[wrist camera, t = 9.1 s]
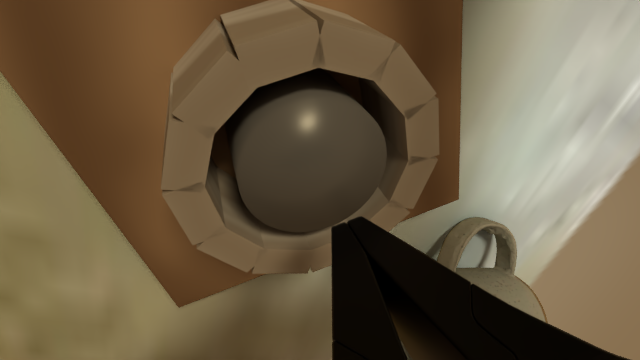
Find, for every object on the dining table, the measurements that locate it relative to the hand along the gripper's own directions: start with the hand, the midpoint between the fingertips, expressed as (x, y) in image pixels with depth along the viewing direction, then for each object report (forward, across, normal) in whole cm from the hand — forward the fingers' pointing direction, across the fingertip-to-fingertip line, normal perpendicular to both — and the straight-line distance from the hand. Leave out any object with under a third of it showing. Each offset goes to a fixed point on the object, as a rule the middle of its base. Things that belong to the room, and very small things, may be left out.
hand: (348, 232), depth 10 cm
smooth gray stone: (+7, 0, 0) cm, 7 cm away
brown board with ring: (+9, 0, 0) cm, 9 cm away
